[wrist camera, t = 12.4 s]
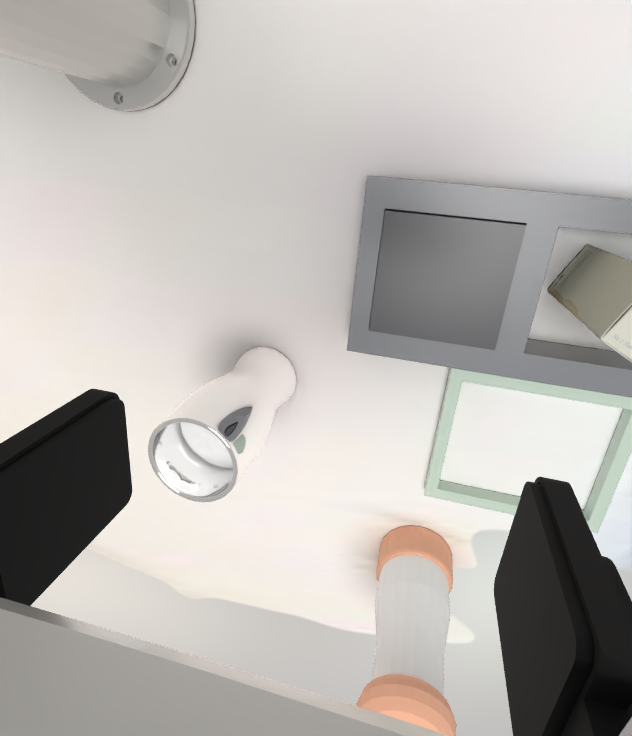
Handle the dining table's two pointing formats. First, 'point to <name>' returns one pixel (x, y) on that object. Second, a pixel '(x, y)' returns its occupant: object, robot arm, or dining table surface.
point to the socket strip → (473, 279)
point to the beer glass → (221, 427)
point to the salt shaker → (412, 630)
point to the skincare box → (599, 296)
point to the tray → (625, 439)
